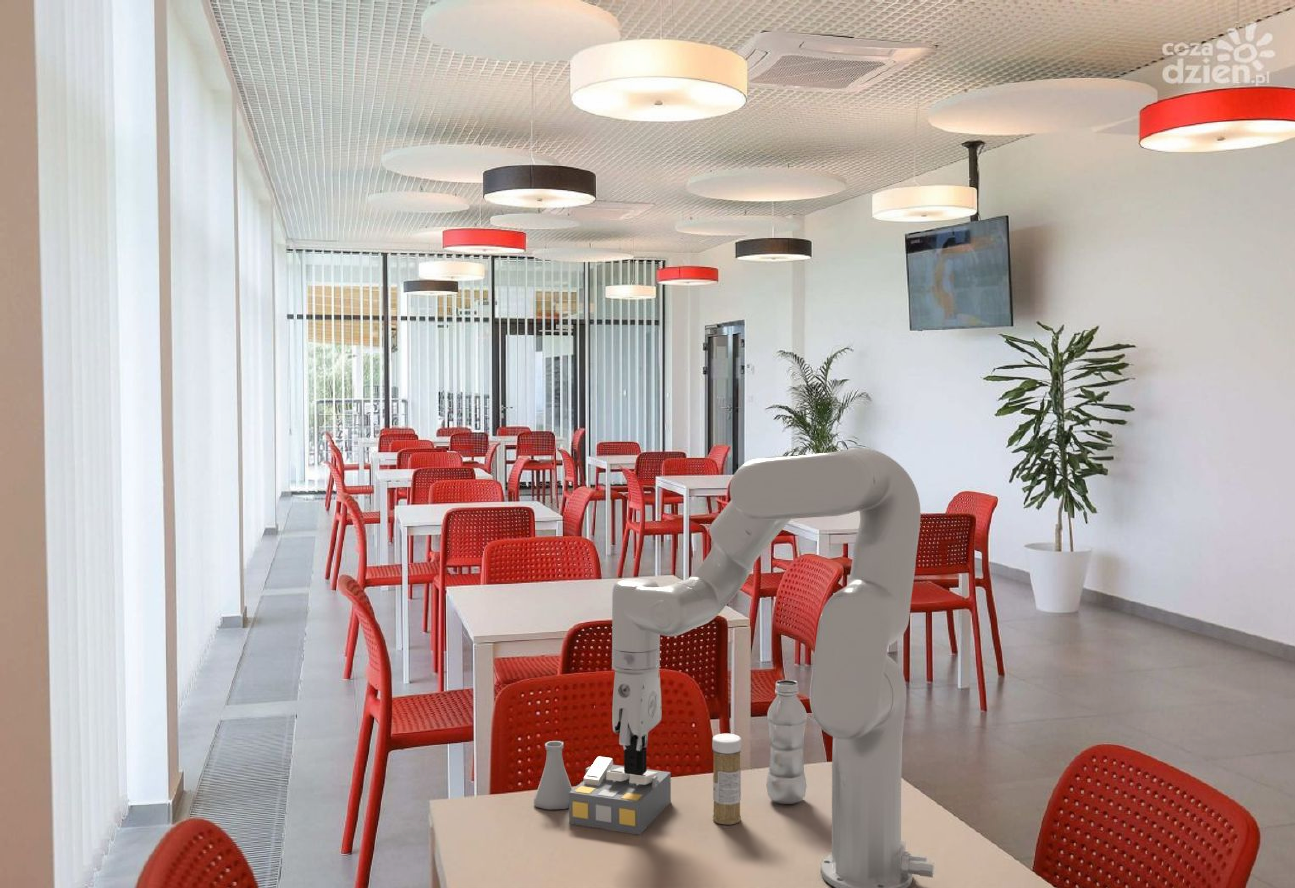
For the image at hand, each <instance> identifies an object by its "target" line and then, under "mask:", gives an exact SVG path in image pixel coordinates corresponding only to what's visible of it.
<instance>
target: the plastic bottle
mask: <svg viewBox="0 0 1295 888" xmlns="http://www.w3.org/2000/svg"><path fill="white" fill-rule="evenodd" d="M774 694H775V695H776V697H775V698H774V700H772V702H771V704H770V706H769V707H768V710H767V724H768V729H769V743H770V754H769V755H770V758H769V768H768V774H767V778H766V790H767V791H766V792H767V796H768V797H769V798H770V800H771V801H773V802H774V803H778V804H782V805H792V804H793V805H794V804H797V803H800V802H802V800H803V799H804V798H805V796H806V792H807V786H808V785H807V780H806V774H805V766H804V740H805V739H804V738H805V731H806V725H807V717H808V715H807V711H806V708H805V706H804V705H803V703H802V701H801V700H800V699H799V698H798V695H799V694H800V693H799V683H798V682H797V680H791V679H781V680H777V681H776V682H775V690H774Z"/></svg>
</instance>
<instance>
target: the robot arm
mask: <svg viewBox="0 0 1295 888" xmlns="http://www.w3.org/2000/svg"><path fill="white" fill-rule="evenodd" d="M729 497H730V501H729V502H728V503H727V504H726V505H725V507H724V508H723V509H722V510H721V511H720V513H718V515H717V516H716V518H715V519H714V520H713V521H712V522H711V525H710V527H709V536H710V538H711V540H712V543H713V544H712V547H711V549H710V551H709V553H708V555H707V556H706V557H705V558H704V560H703V561H702V563H701V564H699V566H698V567H697V568H696V570H695V571H694V572H693V573H692V574H691V575H690V576H689V577H688V578H686V579H684V580H681V581H678V582H674V583H671V584H668V585H664V586H659V584H658V583H657V582H656V581H653V580H652V579H648V578H647V579H646V578H626V579H621V580H618V581H616V583H615V584H614V585H613V588H612V595H611V597H612V598H611V599H612V600H611V601H612V602H611V603H612V606H611V607H612V608H611V610H612V614H611V615H612V616H611V617H612V620H611V624H612V626H611V627H612V628H611V630H612V631H611V632H612V633H611V634H612V635H611V637H612V638H611V639H612V640H611V641H612V643H611V645H612V647H611V662H612V663H611V668H612V670H614V679H613V693H612V711H611V712H612V722H611V723H612V730H613V733H615V734H616V735H619V738H618V743H619V745H620V746H622V747H623V754H624V755H623V761H624V762H623V766H624V772H625V773H626V774H633V775H640V776H642V775H643V774H644V773H645V772H646V771H647V769H648V768H647V767H648V766H647V765H648V764H647V762H648V761H647V760H648V759H647V757H648V756H647V754H648V753H647V752H648V750H647V749H648V748H647V746H648V742H649V739H648V738H649V737H648V736H649V732H650V731H652V729H654V728H655V727H656V726H657V725H658V724H659V723H660V722H661V720H662V690H661V677H660V668H661V666H660V664H661V663H660V660H661V655H660V654H661V649H660V648H661V636H664V637H677V636H679V635H683V634H685V633H687V632H690V631H691V630H693V629H694V630H695V629H696V628H698V627H701V626H704V625H706V624H708V623H709V622H711V621H713V620H714V619H715V618H716V617H717V616H718V615H719V614H720V613H721V612H722V611H723V610H724V609H725V608H726V606H727V605H728V604H729V602H731V601H732V599H733V598H735V596H736V595H737V594H738V593H739V592H740V590H741V589H742V587H743V586H744V584H745V583H746V581H747V579H748V578H749V576H750V574H751V571H752V570H753V568H754V565H755V564H756V562H757V560H758V559H759V558H760V556H761V555H762V554H763V553H764V552H765V550H766V549H767V548H768V547H769V545H770V544H771V543H772V542H773V541H774V540H775V539H776V538H777V536H778V535H779V534H780V533H781V531H782V530H783V529H784V528H785V527H786V525H788V523H789V522H790V521H791V520H792V519H793V520H794V519H795V520H796V519H807V518H824V517H825V518H826V517H838V516H844V515H848V514H852V513H856V512H859V516H860V518H859V519H860V520H859V525H858V529H857V532H856V535H855V539H854V542H853V543H854V544H853V550H852V560H851V561H852V562H851V567H850V573H849V579H848V581H847V585H846V586H844V587H843V588H841V589H839V590H837V591H836V592H835V593H833V595H831V596H830V597H829V598H828V599H827V600H826V603H825V605H823V608H822V611H821V613H820V617H819V620H818V624H817V630H816V639H815V646H814V654H813V662H812V669H811V679H810V685H809V705H810V711H811V714H812V716H813V719H814V720H815V723H817V725H818V726H819V728H820V729H822V731H823V732H825V733H826V734H827V735H829V736H830V737H832V752H831V753H832V758H831V759H832V760H831V761H832V762H831V853H829V854H828V855H827V856H825V857H824V858H823V859H822V860H821V863H820V875H821V877H822V878H823V880H824V881H825V882H827V883H828V884H829V885H831V886H832V887H834V888H909V887H910V886H911V885H912V883H913V875H917V876H920V877H925V878H934V872H935V871H934V869H935V863H934V862H931V861H927V860H928V858H927V856H926V855H921V854H910V852H909V851H907V850H906V844H907V843H906V841H904V840H903V841H902V770H903V769H902V768H903V765H902V764H903V763H902V762H903V760H902V758H903V733H904V724H905V716H906V708H907V707H906V706H907V683H906V680H905V679H906V678H905V675H904V674H903V671H902V670H901V668H900V666H899V664H898V663H897V662H896V661H895V660H894V659H893V658H892V657H891V656H889V655H887V653H888V649H889V647H890V646H891V645H893V644H894V643H896V642H897V641H898V640H899V639H900V638H901V637H902V636H903V635H904V634H905V632H906V630H907V628H908V626H909V622H910V617H911V616H910V614H911V605H912V603H911V602H912V594H913V588H914V580H915V574H916V573H915V572H916V562H917V561H916V559H917V553H918V552H917V551H918V544H919V537H920V536H919V535H920V528H921V503H920V498H919V494H918V490H917V487H916V486H915V483H914V481H913V480H912V477H911V476H910V474H909V473H908V472H907V471H906V470H905V469H904V467H903V466H902V465H901V464H899V462H897V461H896V460H894V459H893V458H892V457H890V456H889V455H886V454H885V453H883V452H882V451H878V450H875V449H871V448H851V449H846V450H838V451H830V452H822V453H812V454H805V455H797V456H796V455H793V456H785V455H774V456H773V455H772V456H765V457H759V458H758V457H757V458H753V459H751V460H747V461H746V462H745V463H743V464H742V465H741V466H739V467H738V469H737V470H736V471H735V472H734V474H733V476H732V478H731V481H730V484H729Z"/></svg>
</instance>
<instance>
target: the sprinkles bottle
mask: <svg viewBox="0 0 1295 888" xmlns="http://www.w3.org/2000/svg"><path fill="white" fill-rule="evenodd" d="M711 744H712V747H711V748H712V752H713V775H712V779H713V780H712V782H713V783H712V785H713V786H712V787H713V789H712V797H713V798H712V799H713V814H712V819H713V821H714V822H716V823H717V824H719V825H734V824H738V823H739V822H741V820H742V816H741V799H742V797H741V796H742V795H741V794H742V793H741V785H742V783H741V777H742V776H741V773H742V772H741V770H742V769H741V750H742V738H741V737H740V736H739V735H737V734H733V733H728V732H727V733H726V732H725V733H718V734H715V735H713V737H712V743H711Z"/></svg>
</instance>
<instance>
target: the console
mask: <svg viewBox="0 0 1295 888" xmlns="http://www.w3.org/2000/svg"><path fill="white" fill-rule="evenodd" d="M620 767H623V768H624V765H617V764H613V766H612V767H611V769H609V770H608V771H610V770H614V769H617V768H620ZM590 768H591V766H588V767H586V768H585V775H586V774H587V772H588V771H589V769H590ZM647 771H653V772H658V780H657V776H654V777H653V778H652V782H651V783H648V784H645V785H643V784H636V783H629V780H630V775H631V774H630V775H629V779H627V780H624V781H614V780H607V779H606V776H607V772H606V776H605V778H604V780H603V781H602V783H601V784H600V785H599V786H597V785H590V784H584V780H583V781H581V782H580V783H579V784H577V785H576V786H575V787H574V788H572V789H573V790H571V791H570V792H569V807H568V815H569V819H568V820H569V823H568V824H571V825H577V826H582V827H583V826H584V827H589V828H595V829H602V830H609V831H614V832H615V831H616V832H621V833H628V834H634V835H639V836H640V835H641V834H643V831H645V830H646V828H648V826H649V825H651V823H652V822H653V821H654V820H655V819H656V818H657V817H658V816H659V815H660V814H661V813H662V811H664V809H666V807H668V805H669V804H670V803H671V802H672V801H671V798H672V797H671V795H672V794H671V790H672V789H671V787H672V786H671V784H672V783H671V782H672V781H671V778H672V777H671V776H672V775H671V771H665V770H662V771H661V770H658V769H657V770H656V769H650V768H649V769H648V768H647Z"/></svg>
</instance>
